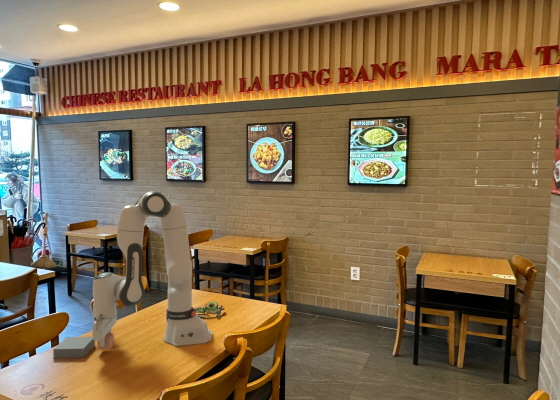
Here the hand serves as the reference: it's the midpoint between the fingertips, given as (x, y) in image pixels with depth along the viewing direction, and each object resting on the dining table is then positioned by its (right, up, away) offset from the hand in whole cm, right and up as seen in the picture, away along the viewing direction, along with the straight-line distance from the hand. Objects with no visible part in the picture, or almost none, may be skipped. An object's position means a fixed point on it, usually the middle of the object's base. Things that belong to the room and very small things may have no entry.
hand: (105, 342), depth 166 cm
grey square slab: (-13, -4, 0) cm, 14 cm away
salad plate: (+36, -3, +51) cm, 62 cm away
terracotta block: (0, -2, 0) cm, 2 cm away
